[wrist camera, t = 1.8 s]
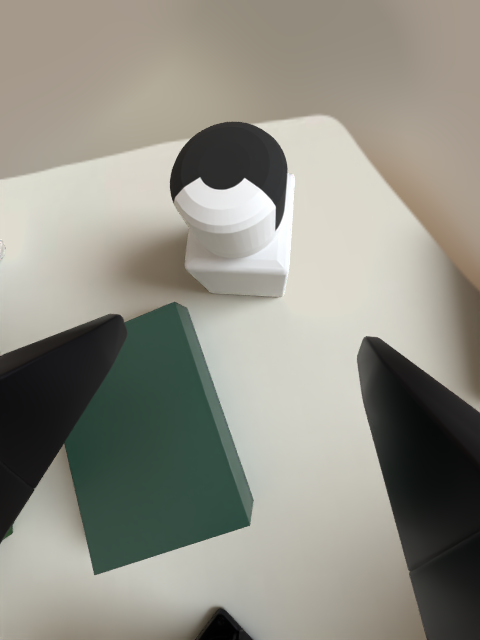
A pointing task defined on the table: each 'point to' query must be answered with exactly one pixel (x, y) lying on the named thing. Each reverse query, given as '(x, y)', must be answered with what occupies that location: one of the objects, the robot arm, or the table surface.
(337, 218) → the table surface
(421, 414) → the robot arm
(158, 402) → the book
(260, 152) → the medicine bottle
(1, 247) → the milkshake
